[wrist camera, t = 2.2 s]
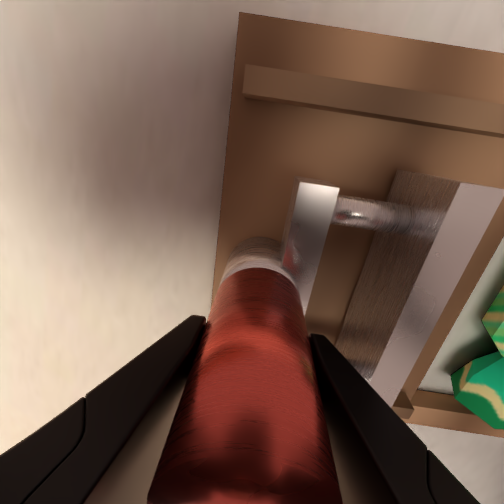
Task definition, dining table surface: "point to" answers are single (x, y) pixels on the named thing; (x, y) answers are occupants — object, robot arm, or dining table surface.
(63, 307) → the dining table surface
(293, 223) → the lever
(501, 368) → the candy
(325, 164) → the wooden vise
